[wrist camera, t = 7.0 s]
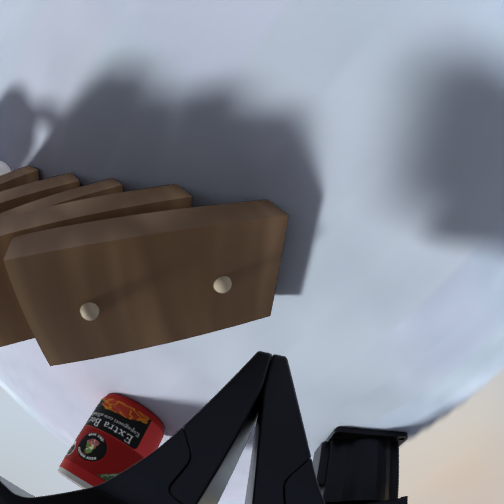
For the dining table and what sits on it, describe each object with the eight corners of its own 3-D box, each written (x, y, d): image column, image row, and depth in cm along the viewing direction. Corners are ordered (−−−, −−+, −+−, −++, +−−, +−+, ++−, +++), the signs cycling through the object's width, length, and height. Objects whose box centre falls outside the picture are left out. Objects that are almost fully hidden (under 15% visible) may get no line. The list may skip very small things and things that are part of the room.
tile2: (195, 199, 12) (-50, 255, 6) (191, 297, 14) (-4, 353, 9) (176, 184, 13) (-40, 230, 7) (175, 275, 15) (-4, 323, 10)
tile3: (125, 186, 12) (-71, 257, 6) (139, 280, 15) (-26, 347, 9) (112, 177, 13) (-63, 239, 8) (126, 263, 16) (-26, 323, 10)
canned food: (155, 405, 24) (106, 500, 15) (174, 440, 28) (138, 517, 19) (94, 382, 26) (42, 460, 17) (119, 419, 30) (80, 487, 21)
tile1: (294, 219, 11) (0, 266, 6) (274, 320, 13) (50, 372, 9) (267, 199, 12) (13, 236, 8) (254, 295, 15) (49, 337, 10)
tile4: (81, 182, 13) (-90, 241, 6) (89, 264, 16) (-55, 323, 9) (71, 172, 14) (-84, 223, 7) (78, 248, 17) (-55, 301, 10)
